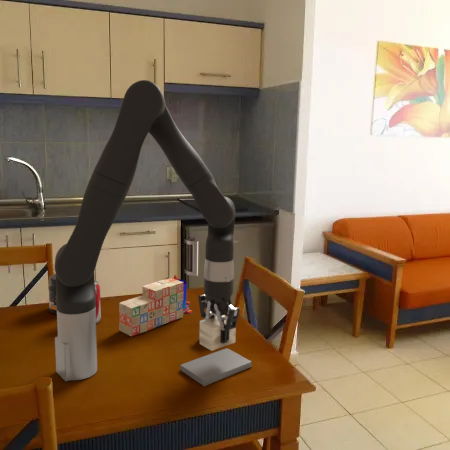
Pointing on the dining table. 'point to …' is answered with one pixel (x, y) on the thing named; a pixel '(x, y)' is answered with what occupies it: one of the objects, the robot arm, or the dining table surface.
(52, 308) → the supplement container
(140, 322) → the stack of blocks
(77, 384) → the dining table surface
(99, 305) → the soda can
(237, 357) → the baseplate
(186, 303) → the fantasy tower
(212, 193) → the robot arm
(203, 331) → the cream brick
